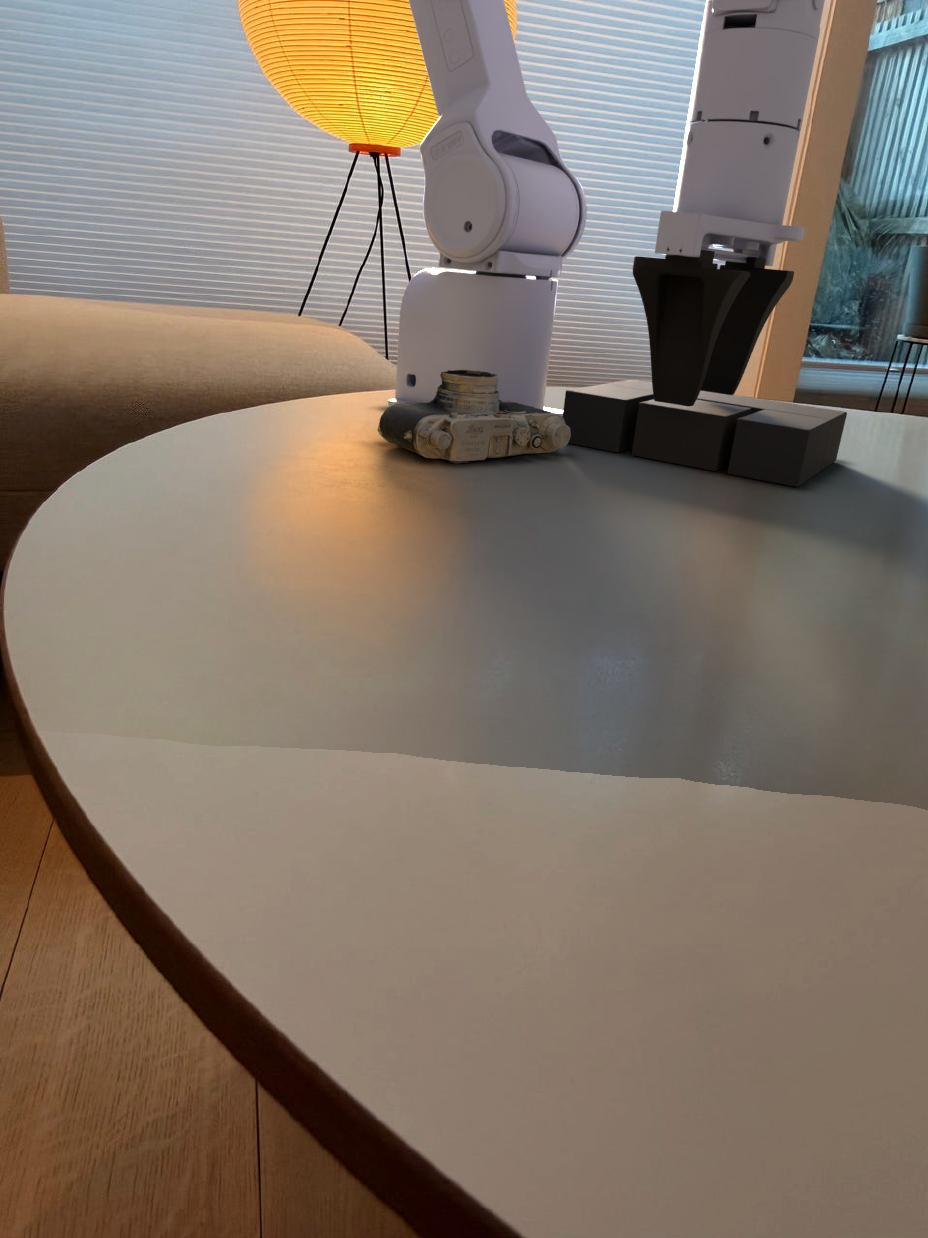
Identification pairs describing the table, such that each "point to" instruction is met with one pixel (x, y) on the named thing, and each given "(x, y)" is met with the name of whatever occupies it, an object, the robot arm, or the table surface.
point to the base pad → (763, 442)
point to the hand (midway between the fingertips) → (696, 397)
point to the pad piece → (687, 433)
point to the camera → (472, 422)
